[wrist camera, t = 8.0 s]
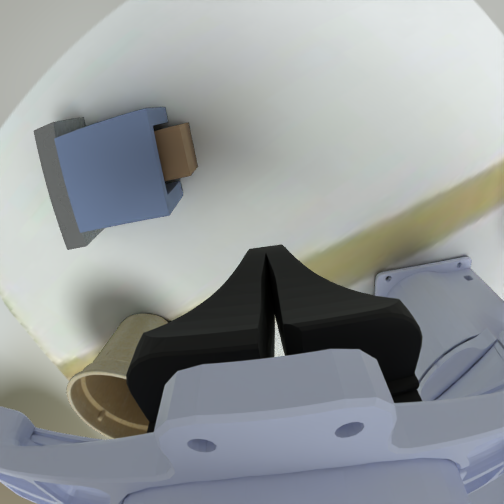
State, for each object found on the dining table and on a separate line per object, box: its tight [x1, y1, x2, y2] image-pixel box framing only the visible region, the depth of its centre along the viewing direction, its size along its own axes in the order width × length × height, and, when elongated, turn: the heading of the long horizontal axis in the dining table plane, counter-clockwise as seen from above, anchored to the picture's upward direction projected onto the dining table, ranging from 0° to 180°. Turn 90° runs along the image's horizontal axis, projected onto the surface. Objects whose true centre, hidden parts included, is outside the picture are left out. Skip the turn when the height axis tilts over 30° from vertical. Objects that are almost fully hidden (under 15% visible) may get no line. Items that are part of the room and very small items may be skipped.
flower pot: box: [66, 313, 168, 439], centre depth 22 cm, size 9×9×9 cm
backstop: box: [34, 117, 104, 250], centre depth 18 cm, size 2×8×4 cm, turn 9°
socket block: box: [54, 107, 183, 233], centre depth 18 cm, size 6×6×4 cm
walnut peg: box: [154, 122, 198, 181], centre depth 18 cm, size 6×3×3 cm, turn 100°
